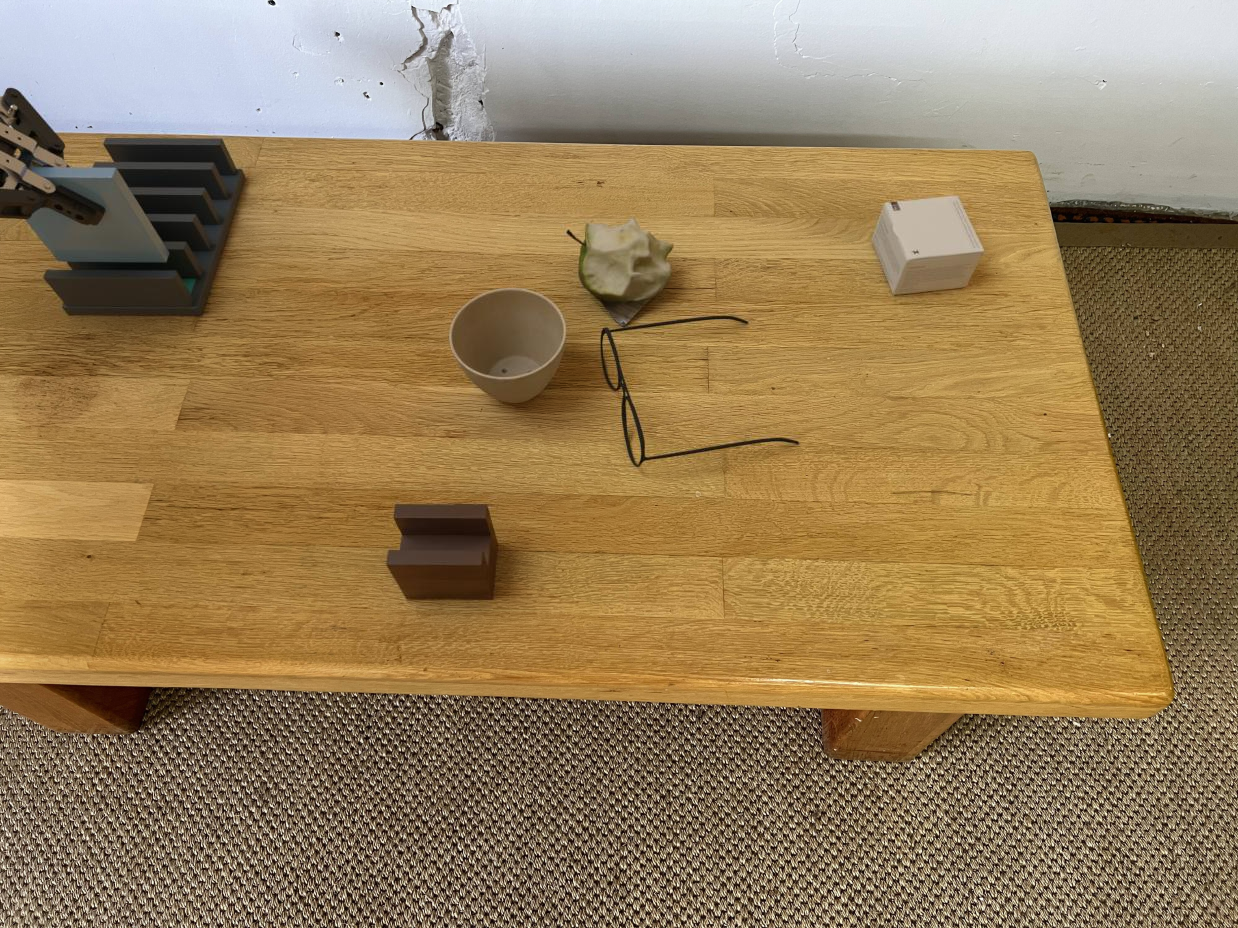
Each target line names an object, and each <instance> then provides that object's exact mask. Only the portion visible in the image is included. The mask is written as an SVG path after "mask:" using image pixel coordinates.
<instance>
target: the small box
mask: <svg viewBox="0 0 1238 928" xmlns="http://www.w3.org/2000/svg"><path fill="white" fill-rule="evenodd" d="M871 242H872V245H873V248H874V250H875V253H876V255H877V259H878V260H879V262H880V265H881V268H882V271H883V273H884V275H885V278H886V281H887V283H888V285H889V288H890V290H891V293H892V295H894V296H897V295H906V294H907V295H908V294H917V293H924V292H935V291H942V290H954V289H962V288H966V287H967V285H968V284H969V282H970V281H971V278H972V276H973V274H974V272H975V270H976V268H977V266H978V264H979V262H980V260H981V259H982V256H983V255H984V253H985V249H984V247H983V244H982V242H981V240H980V238H979V237H978V234H977V232H976V230H975V228H974V226H973V224H972V222H971V220H970V218H969V216H968V214H967V212H966V210H965V207H964V206H963V204H962V202H961V200H960V198H959V196H958V195H947V196H938V197H928V198H927V197H926V198H920V199H907V200H897V201H890V202H884V203H883V206H882V208H881V212H880V214H879V217H878V220H877V223H876V226H875V227H874V231H873V234H872V237H871Z"/></svg>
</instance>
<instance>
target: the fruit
mask: <svg viewBox="0 0 1238 928" xmlns="http://www.w3.org/2000/svg"><path fill="white" fill-rule="evenodd" d="M584 233H585V234H584V240H583V241H582V240H580V239H579V238H577V237H576V235H574V233H572V231H571V230H570V229H567V230H566V234H567V235H568V236H569V237H570V238H571V239H573V240H574V241H576V242H577V243H579V244H580V245H581V246H580V248H579V249H580V250H579V252H580V253H579V257H578V265H577V266H578V270H577V272H578V279H579V280H580V283H581V286H582V287H583V288H584V289H586V291H588V292H589V293H590V294H591V295H592V296H593V297H595V298H596V299H597V300H598V302H600V303H601V304H602V306H603V307H604V308H605V310H606V311H607V312H608V314H609V315H610V317H611V318H612V319H613V320H614V321H615V322H616V323H618V324H619V325H620V326H624V327H625V326H626V325H627V324H628V323H629V322H630V321H631V320H632V319H633V318H634V317H635V316H636V315H637V313H638V312H639V311H640V310H641V309H642V308H643V307H644V306H645V305H646V304H647V303H648V302H649V301H650V300H651V299H653V298H654V297H655V296H657V295H658V294H660V293H661V292H662V291H663V290H664V289H665V287H666V286H667V284H668V283H669V281H670V279H671V277H672V266H671V263H670V262H668V261H667V260H666V259H667V257H668V256H669V254H670V253H671V252H672V251H673V249H674V245H675V244H674V243H673V242H668V241H665V240H660V239H657V238H656V237H655V235H654V234H652V233H651V231H649V230H644V229H642V228H641V227H640V225H639V223H638V221H637V219H636V218H635V217H630V218H629V220H628V221H627V222H626V223H624V224H618V225H616V226H612V225H611V226H610V225H607V224H605V223H601V222H600V223H596V222H586V223H585V224H584Z"/></svg>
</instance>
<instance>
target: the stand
mask: <svg viewBox="0 0 1238 928" xmlns="http://www.w3.org/2000/svg"><path fill="white" fill-rule="evenodd" d="M393 509H394V510H393V517H392V518H393V520H394V522H395V524H396V526H397V528H398V531H399V532H400V535H401V538H400V545H399V549H388V550H387V555H386V563H385V565H386V567H387V569H388V570H389V572H390V574H391V575H392V577H393V579H394V580H395V582H396V584H397V586H398V587H399V589H400V591H401V592H402V594H403V596H404V598H405V599H406V600H449V601H450V600H451V601H453V600H454V601H455V600H456V601H457V600H459V601H460V600H462V601H463V600H464V601H465V600H467V601H468V600H469V601H470V600H473V601H476V600H477V601H482V600H483V601H493V600H494V598H495V586H496V585H495V584H496V575H497V574H496V573H497V563H498V562H497V560H498V550H499V549H498V548H499V542H498V539H497V534H496V531H495V529H494V528H495V527H494V525H493V520H492V516H491V514H490V510H489V506H488V504H468V503H467V504H463V503H462V504H459V503H457V504H456V503H449V504H445V503H441V504H439V503H395V504H394V508H393Z"/></svg>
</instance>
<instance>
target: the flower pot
mask: <svg viewBox="0 0 1238 928" xmlns="http://www.w3.org/2000/svg"><path fill="white" fill-rule="evenodd" d="M448 334H449V335H448V339H449V340H448V341H449V342H448V343H449V346H450V350H451V352H452V354H453V356H454V358H455V361H456V362H457V364H458V366H459V367H460V368H461V370H462V371H463V373H464V374H465V375H466V376H467V378H469V380H470V381H471V382H472V383H473V384H474V385H475V386H476V387H477V388H478V389H479V390H481V391H482V392H484V393H485V394H487V395H489V396H490V397H492V398H494V399H496V400H499V401H501V402H505V403H508V404H509V403H510V404H519V403H520V404H521V403H524V402H527V401H529V400H532V399H533V398H534V397H536V396H537V395H539V394H540V393H541V392H542V391H543V390H544V389H545V388H546V387H547V386H548V384H549V383H550V382H551V381H552V379H553V377H554V376H555V374H556V372H557V370H558V368H559V366H560V364H561V361H562V358H563V354H564V351H565V346H566V341H567V324H566V320H565V317H564V315H563V313H562V311H561V310H560V308H559V306H557V304H556V303H555V302H553V301H552V300H551V299H549V298H548V297H547V296H545V295H543V294H541V293H539V292H537V291H534V290H530V289H528V288H527V289H526V288H521V287H501V288H495V289H491V290H488V291H485V292H483V293H481V294H478V295H477V296H474V297H473V298H472V299H470V300H469V301H467V302H466V303H465V304H464V305H463V306H462V307H461V308H460V309H459V310H458V312H457V313H455V316H454V317H453V319H452V322H451V324H450V328H449V332H448Z"/></svg>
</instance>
